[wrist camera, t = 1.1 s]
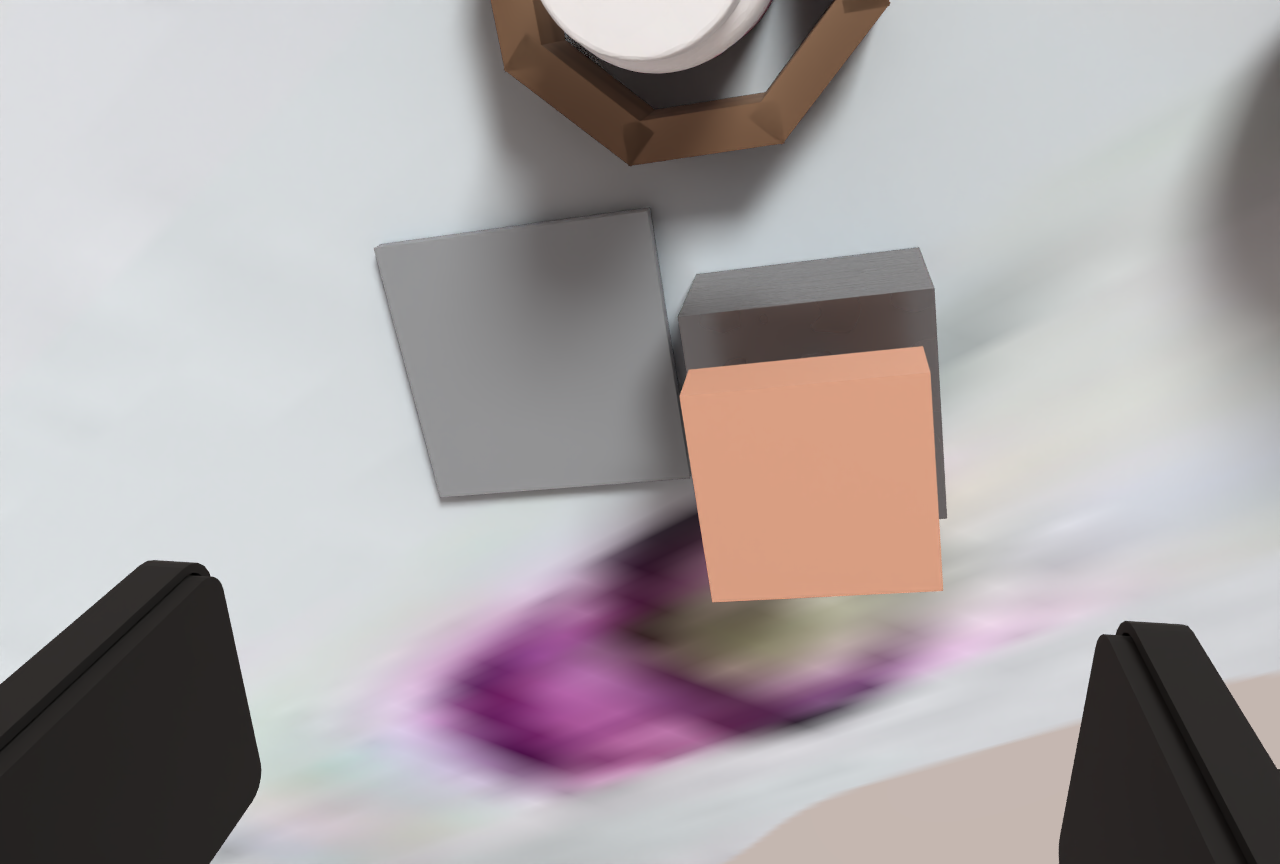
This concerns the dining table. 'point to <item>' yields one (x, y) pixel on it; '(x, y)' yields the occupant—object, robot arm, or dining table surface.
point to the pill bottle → (656, 29)
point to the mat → (539, 354)
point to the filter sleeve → (680, 130)
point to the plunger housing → (816, 317)
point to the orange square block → (815, 475)
